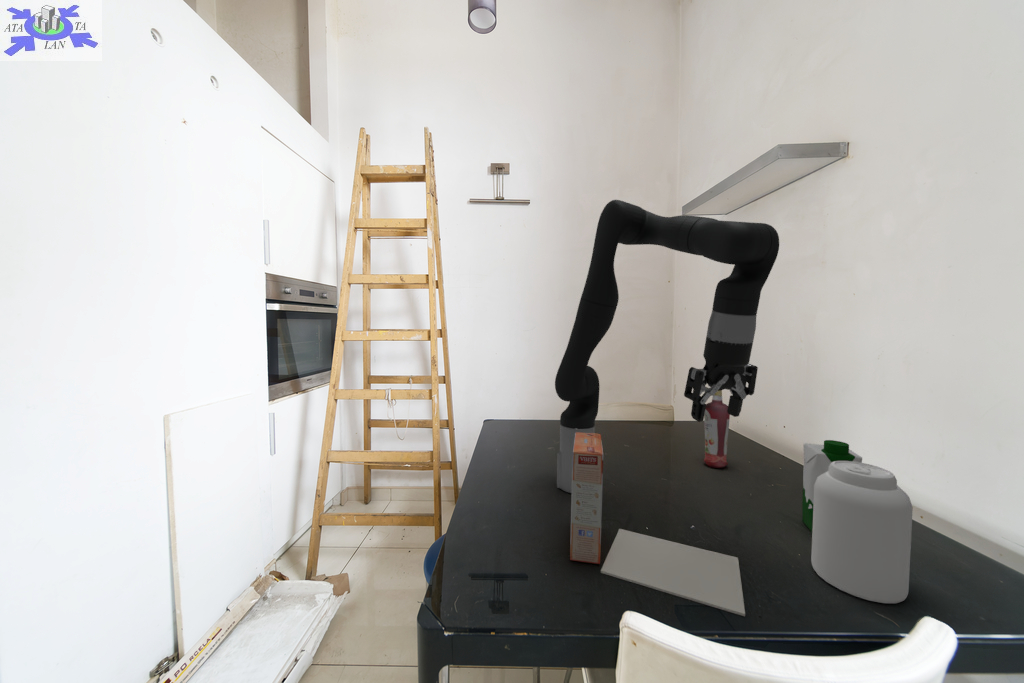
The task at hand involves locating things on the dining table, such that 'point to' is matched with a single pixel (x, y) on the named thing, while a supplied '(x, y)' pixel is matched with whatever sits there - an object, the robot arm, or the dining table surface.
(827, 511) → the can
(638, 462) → the dining table surface
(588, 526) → the cracker box
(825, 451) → the milk carton
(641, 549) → the mat
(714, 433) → the liquor
